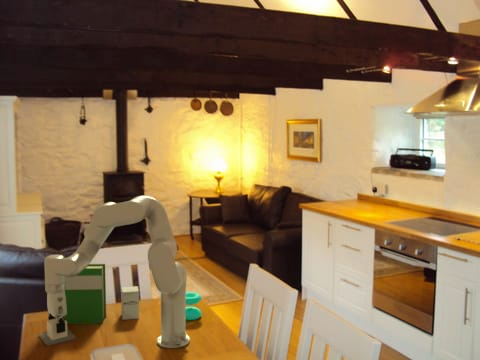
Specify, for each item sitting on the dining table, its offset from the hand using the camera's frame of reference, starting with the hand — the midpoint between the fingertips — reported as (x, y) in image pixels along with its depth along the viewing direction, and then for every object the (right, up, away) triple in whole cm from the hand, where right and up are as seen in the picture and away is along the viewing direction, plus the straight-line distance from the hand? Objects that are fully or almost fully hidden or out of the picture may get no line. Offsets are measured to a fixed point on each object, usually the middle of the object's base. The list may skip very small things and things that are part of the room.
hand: (56, 328), depth 199 cm
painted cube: (0, -3, 0) cm, 3 cm away
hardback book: (+5, -2, +18) cm, 19 cm away
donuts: (+51, -2, +23) cm, 56 cm away
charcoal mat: (0, -4, 0) cm, 4 cm away
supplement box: (+24, -2, +23) cm, 33 cm away
